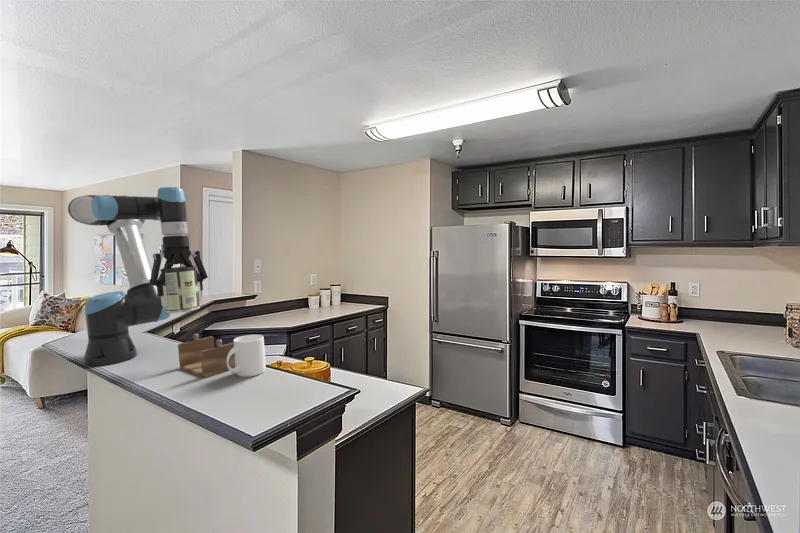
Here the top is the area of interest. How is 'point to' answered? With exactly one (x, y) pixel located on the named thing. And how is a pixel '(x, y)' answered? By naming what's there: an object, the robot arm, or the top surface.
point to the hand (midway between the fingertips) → (182, 303)
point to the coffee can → (181, 289)
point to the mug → (248, 355)
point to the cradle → (205, 356)
